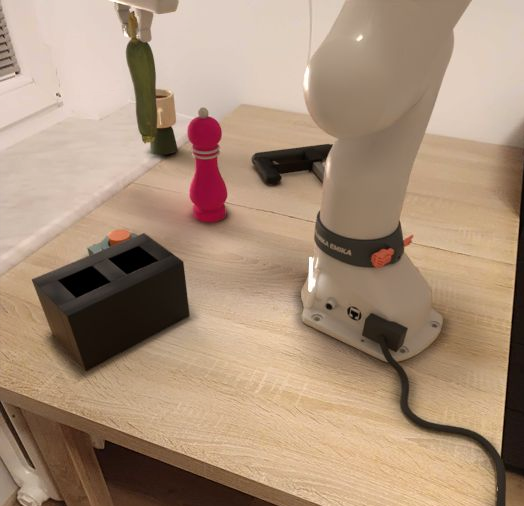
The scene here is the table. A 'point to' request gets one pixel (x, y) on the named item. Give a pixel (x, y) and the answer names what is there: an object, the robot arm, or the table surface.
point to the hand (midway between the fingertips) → (137, 38)
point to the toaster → (113, 299)
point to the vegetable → (142, 81)
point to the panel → (102, 245)
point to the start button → (118, 236)
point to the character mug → (164, 123)
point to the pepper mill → (206, 169)
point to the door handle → (291, 161)
